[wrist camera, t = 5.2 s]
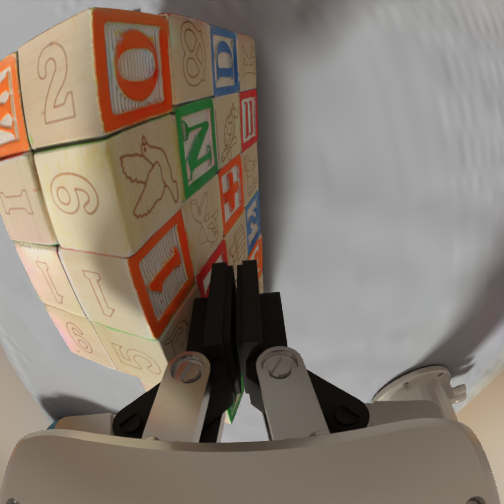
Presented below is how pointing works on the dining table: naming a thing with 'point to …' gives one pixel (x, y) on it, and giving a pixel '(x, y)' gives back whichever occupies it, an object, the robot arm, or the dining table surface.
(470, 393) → the dining table surface
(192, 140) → the stack of blocks
